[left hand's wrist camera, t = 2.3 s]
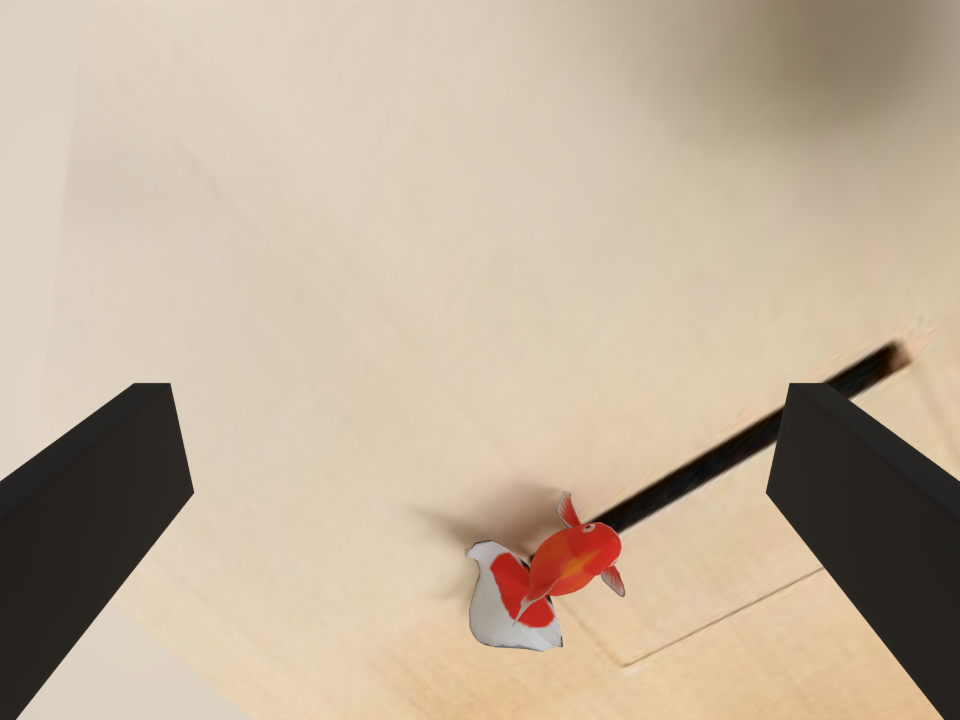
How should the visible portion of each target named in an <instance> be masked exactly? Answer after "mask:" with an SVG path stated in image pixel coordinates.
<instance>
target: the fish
mask: <svg viewBox="0 0 960 720" xmlns="http://www.w3.org/2000/svg"><path fill="white" fill-rule="evenodd" d="M570 496H571V494H570V493H567V492H564V494H563V495H562V497H561V498H560V501H559V504H558V507H557V514H558V516H559V517H560V519H561V520H562V521H563V523H564V524H565V525H566V526H567V527H568V528H569V529H564V530H561V531H559V532H557V533H555V534H554V535H552V536H551V537H549V538H548V539H547V540H545V541H544V542H543V543H542V545H541V546H540V547H539V548H538V550H537V552H536V553H535V555H534V557H533V560H532V563H531V567H530V568H529V566H528V565H527V564H526V563H525V562H523V561H522V560H521V559H520V558H519V557H517V556H516V555H515V554H514V553H512V552H511V551H510V550H508V549H507V548H505V547H503V546H501V545H499V544H497V543H495V542H493V541H491V540H489V541H483V542H477V543H475V544H474V545H473V547H472V548H471V550H470V551H468V550H466V549H465V557H471V558H473V559H476V561H477V563H478V566H479V569H480V571H481V572H480V575H479V578H478V581H477V585H476V588H475V592H474V595H473V598H472V601H471V605H470V609H469V624H470V629H471V632H472V634H473V635H474V637H475V638H476V640H477V641H478V642H480V643H482V644H484V645H488V646H492V647H502V648H519V649H529V650H535V651H540V652H543V651H545V650H548V649H550V648H553V647H563V643H562V635H561V631H560V626H559V623H558V620H557V616H556V613H555V610H554V607H553V604H552V601H551V598H550V596H560V595H565V594H569V593H573V592H575V591H577V590H579V589H581V588H583V587H584V586H586V585H587V584H588V583H589V582H590V581H591V580H592V579H593V578H594V577H595V575H599V574H601V577H602V579H603V581H604V582H605V583H606V584H607V585H608V586H609V587H610V588H611V589H612V590H614V591H615V592H616V593H617V594H618V595H619V596H622V597H623V596H625V590H624V585H623V583H622V580H621V578H620V574H619V572H618V570H617V569H616V567H615V566H614V564H615V563H616V562H617V559H618V557H619V554H620V551H621V542H620V538H619V537H618V535H617V533H616V532H615V531H614V530H613V529H612V528H611V527H609V526H607V525H605V524H602V523H590V524H582V525H581V523H580V521H579V519H578V517H577V515H576V513H575V510H574V508H573V505H572V503H571V499H570ZM549 595H550V596H549Z"/></svg>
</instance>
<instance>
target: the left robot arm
mask: <svg viewBox="0 0 960 720" xmlns="http://www.w3.org/2000/svg"><path fill="white" fill-rule="evenodd" d="M193 494H194V490H193V485H192V480H191V476H190V471H189V467H188V462H187V457H186V453H185V448H184V444H183V439H182V434H181V430H180V425H179V421H178V416H177V412H176V407H175V402H174V398H173V393H172V389H171V384H170V383H134V384H132V385H131V386H130V387H128V388H127V389H126V390H124V391H123V392H121V393H120V394H119V395H117V396H116V397H115V398H113V399H112V400H111V401H109V402H108V403H106V404H105V405H104V406H102V407H101V408H100V409H98V410H97V411H96V412H94V413H93V414H91V415H90V416H89V417H87V418H86V419H85V420H83V421H82V422H81V423H79V424H78V425H76V426H75V427H74V428H72V429H71V430H70V431H68V432H67V433H66V434H64V435H63V436H61V437H60V438H59V439H57V440H56V441H55V442H53V443H52V444H51V445H49V446H48V447H46V448H45V449H44V450H42V451H41V452H40V453H38V454H37V455H36V456H34V457H33V458H31V459H30V460H29V461H27V462H26V463H25V464H23V465H22V466H21V467H19V468H18V469H16V470H15V471H14V472H12V473H11V474H10V475H8V476H7V477H6V478H4V479H3V480H1V481H0V720H16V719H17V718H18V716H19V715H20V714H21V712H22V711H23V710H24V709H25V707H26V706H27V705H28V704H29V702H30V701H31V700H32V699H33V697H34V696H35V695H36V693H37V692H38V691H39V690H40V688H41V687H42V686H43V685H44V683H45V682H46V681H47V679H48V678H49V677H50V676H51V674H52V673H53V672H54V670H55V669H56V668H57V667H58V665H59V664H60V663H61V662H62V660H63V659H64V658H65V657H66V655H67V654H68V653H69V651H70V650H71V649H72V648H73V646H74V645H75V644H76V642H77V641H78V640H79V639H80V637H81V636H82V635H83V634H84V632H85V631H86V630H87V629H88V627H89V626H90V625H91V623H92V622H93V621H94V620H95V618H96V617H97V616H98V615H99V613H100V612H101V611H102V609H103V608H104V607H105V606H106V604H107V603H108V602H109V601H110V599H111V598H112V597H113V595H114V594H115V593H116V592H117V590H118V589H119V588H120V587H121V585H122V584H123V583H124V582H125V580H126V579H127V578H128V576H129V575H130V574H131V573H132V571H133V570H134V569H135V568H136V566H137V565H138V564H139V562H140V561H141V560H142V559H143V557H144V556H145V555H146V554H147V552H148V551H149V550H150V548H151V547H152V546H153V545H154V543H155V542H156V541H157V540H158V538H159V537H160V536H161V534H162V533H163V532H164V531H165V529H166V528H167V527H168V526H169V524H170V523H171V522H172V520H173V519H174V518H175V517H176V515H177V514H178V513H179V512H180V510H181V509H182V508H183V506H184V505H185V504H186V503H187V501H188V500H189V499H190V498H191V496H192V495H193ZM766 494H767V495H768V496H769V498H770V499H771V500H772V501H773V503H774V504H775V505H776V506H777V508H778V509H779V510H780V512H781V513H782V514H783V515H784V517H785V518H786V519H787V520H788V522H789V523H790V524H791V526H792V527H793V528H794V529H795V531H796V532H797V533H798V534H799V536H800V537H801V538H802V540H803V541H804V542H805V543H806V545H807V546H808V547H809V548H810V550H811V551H812V552H813V554H814V555H815V556H816V557H817V559H818V560H819V561H820V562H821V564H822V565H823V566H824V568H825V569H826V570H827V571H828V573H829V574H830V575H831V576H832V578H833V579H834V580H835V582H836V583H837V584H838V585H839V587H840V588H841V589H842V590H843V592H844V593H845V594H846V596H847V597H848V598H849V599H850V601H851V602H852V603H853V604H854V606H855V607H856V608H857V609H858V611H859V612H860V613H861V615H862V616H863V617H864V618H865V620H866V621H867V622H868V623H869V625H870V626H871V627H872V629H873V630H874V631H875V632H876V634H877V635H878V636H879V637H880V639H881V640H882V641H883V643H884V644H885V645H886V646H887V648H888V649H889V650H890V651H891V653H892V654H893V655H894V657H895V658H896V659H897V660H898V662H899V663H900V664H901V665H902V667H903V668H904V669H905V671H906V672H907V673H908V674H909V676H910V677H911V678H912V679H913V681H914V682H915V683H916V685H917V686H918V687H919V688H920V690H921V691H922V692H923V693H924V695H925V696H926V697H927V699H928V700H929V701H930V702H931V704H932V705H933V706H934V707H935V709H936V710H937V711H938V713H939V714H940V715H941V716H942V718H943V719H944V720H960V481H959V480H957V479H956V478H954V477H953V476H952V475H950V474H949V473H948V472H946V471H945V470H944V469H942V468H941V467H939V466H938V465H937V464H935V463H934V462H933V461H931V460H930V459H929V458H927V457H926V456H924V455H923V454H922V453H920V452H919V451H918V450H916V449H915V448H914V447H912V446H911V445H909V444H908V443H907V442H905V441H904V440H903V439H901V438H900V437H899V436H897V435H896V434H894V433H893V432H892V431H890V430H889V429H888V428H886V427H885V426H884V425H882V424H881V423H879V422H878V421H877V420H875V419H874V418H873V417H871V416H870V415H869V414H867V413H866V412H864V411H863V410H862V409H860V408H859V407H858V406H856V405H855V404H854V403H852V402H851V401H849V400H848V399H847V398H845V397H844V396H843V395H841V394H840V393H839V392H837V391H836V390H834V389H833V388H832V387H830V386H829V385H828V384H826V383H790V384H789V389H788V393H787V398H786V402H785V407H784V412H783V416H782V421H781V425H780V430H779V434H778V439H777V444H776V448H775V453H774V457H773V462H772V467H771V471H770V476H769V480H768V485H767V490H766Z"/></svg>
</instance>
